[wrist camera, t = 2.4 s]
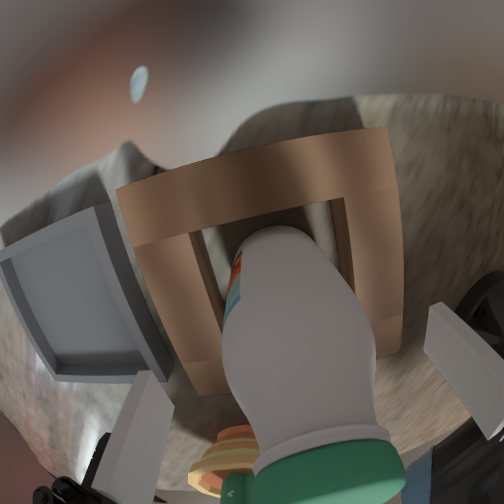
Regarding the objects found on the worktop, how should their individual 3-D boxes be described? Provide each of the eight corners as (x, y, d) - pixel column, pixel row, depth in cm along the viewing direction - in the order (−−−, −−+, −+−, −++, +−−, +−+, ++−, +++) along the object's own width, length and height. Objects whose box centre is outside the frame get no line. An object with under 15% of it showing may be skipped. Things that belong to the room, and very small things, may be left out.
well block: (365, 131, 20) (386, 126, 16) (384, 329, 26) (399, 351, 22) (136, 184, 21) (115, 189, 17) (203, 370, 27) (198, 396, 23)
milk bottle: (258, 207, 22) (300, 440, 3) (336, 248, 23) (491, 436, 4) (218, 285, 24) (165, 522, 5) (293, 318, 25) (342, 531, 6)
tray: (110, 200, 22) (93, 205, 19) (173, 363, 27) (167, 381, 24) (7, 247, 23) (-8, 255, 20) (64, 367, 28) (55, 380, 25)
